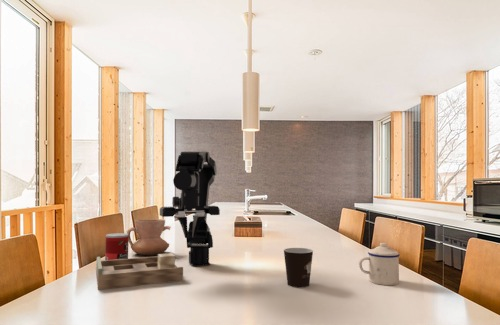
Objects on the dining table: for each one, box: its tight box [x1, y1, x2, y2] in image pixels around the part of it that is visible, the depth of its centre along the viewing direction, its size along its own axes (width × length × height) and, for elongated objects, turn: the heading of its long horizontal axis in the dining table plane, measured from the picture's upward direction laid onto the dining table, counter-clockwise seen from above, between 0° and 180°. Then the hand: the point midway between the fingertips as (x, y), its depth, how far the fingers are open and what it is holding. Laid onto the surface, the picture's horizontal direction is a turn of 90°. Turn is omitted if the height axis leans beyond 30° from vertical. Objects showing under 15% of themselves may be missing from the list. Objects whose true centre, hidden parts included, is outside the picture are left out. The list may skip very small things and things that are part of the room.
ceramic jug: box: [126, 218, 172, 256], centre depth 155 cm, size 18×14×14 cm
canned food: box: [104, 232, 129, 260], centre depth 133 cm, size 8×8×11 cm
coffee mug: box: [283, 247, 314, 288], centre depth 110 cm, size 12×9×10 cm
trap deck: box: [95, 255, 184, 291], centre depth 117 cm, size 24×20×6 cm
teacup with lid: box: [358, 242, 400, 286], centre depth 113 cm, size 12×9×12 cm
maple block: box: [157, 252, 176, 269], centre depth 117 cm, size 4×4×4 cm
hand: (189, 237), depth 120 cm, fingers open, 2 cm apart
